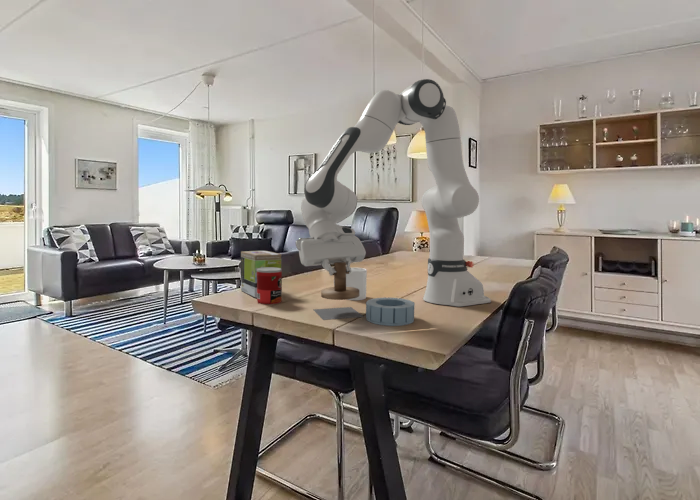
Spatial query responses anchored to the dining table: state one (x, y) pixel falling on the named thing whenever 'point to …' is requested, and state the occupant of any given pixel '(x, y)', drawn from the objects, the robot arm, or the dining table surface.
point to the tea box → (250, 266)
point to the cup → (357, 281)
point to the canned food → (269, 285)
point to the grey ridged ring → (390, 311)
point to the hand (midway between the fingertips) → (341, 273)
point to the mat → (337, 313)
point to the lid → (340, 285)
